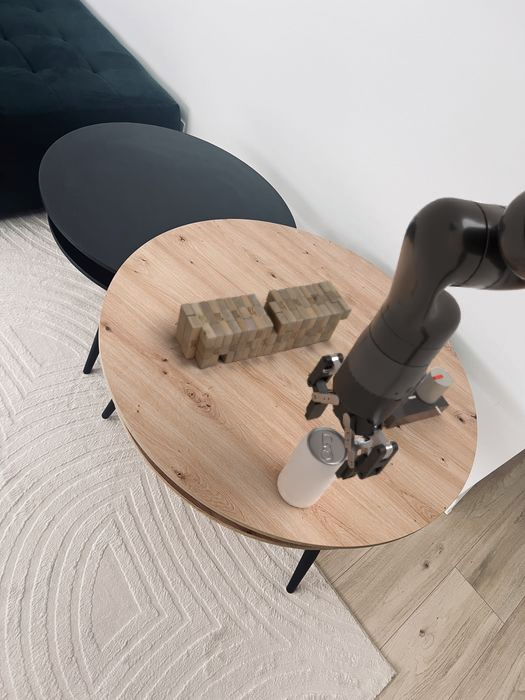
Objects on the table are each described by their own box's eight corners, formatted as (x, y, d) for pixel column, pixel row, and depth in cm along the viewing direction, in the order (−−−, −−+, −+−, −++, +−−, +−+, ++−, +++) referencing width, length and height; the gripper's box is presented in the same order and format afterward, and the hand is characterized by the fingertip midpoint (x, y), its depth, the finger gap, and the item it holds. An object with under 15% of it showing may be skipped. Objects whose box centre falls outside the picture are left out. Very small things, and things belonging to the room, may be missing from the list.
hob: (448, 418, 93) (458, 408, 91) (391, 434, 87) (399, 424, 85) (402, 353, 101) (410, 342, 99) (347, 363, 95) (354, 352, 93)
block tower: (190, 374, 85) (337, 339, 98) (199, 340, 79) (354, 308, 92) (173, 338, 89) (317, 309, 102) (180, 303, 83) (332, 277, 96)
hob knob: (428, 382, 93) (444, 363, 89) (442, 400, 91) (458, 382, 87) (411, 387, 91) (427, 368, 88) (425, 405, 89) (441, 387, 86)
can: (273, 502, 74) (301, 459, 65) (279, 462, 78) (306, 417, 69) (317, 514, 74) (350, 474, 66) (321, 474, 79) (353, 431, 70)
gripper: (322, 321, 58) (277, 405, 70) (390, 432, 50) (327, 504, 62) (376, 313, 61) (325, 394, 73) (447, 416, 54) (377, 487, 66)
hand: (326, 445), depth 68 cm, fingers open, 8 cm apart
